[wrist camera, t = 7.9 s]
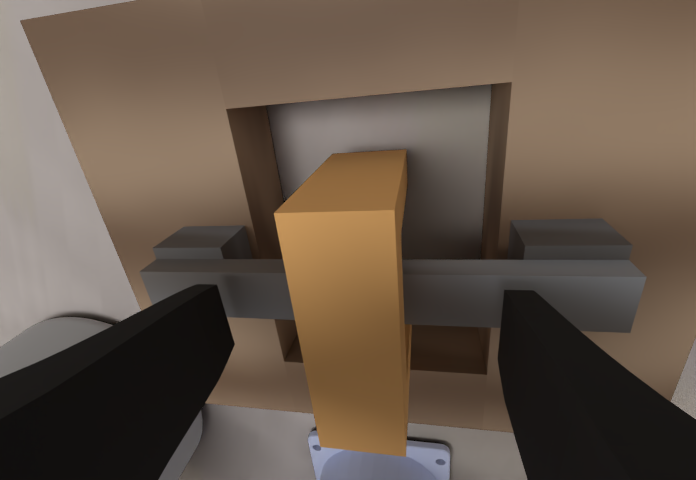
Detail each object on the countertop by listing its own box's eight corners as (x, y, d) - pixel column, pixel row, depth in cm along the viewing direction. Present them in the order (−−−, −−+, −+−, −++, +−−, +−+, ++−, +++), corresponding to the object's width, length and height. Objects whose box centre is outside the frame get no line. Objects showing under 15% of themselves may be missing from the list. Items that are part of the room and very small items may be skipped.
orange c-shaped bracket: (411, 328, 15) (406, 456, 10) (352, 326, 16) (320, 447, 11) (406, 149, 12) (394, 210, 7) (332, 153, 12) (274, 213, 8)
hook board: (615, 382, 16) (698, 521, 11) (210, 356, 20) (143, 449, 15) (748, -75, 9) (1103, -224, 4) (99, 28, 13) (-83, 10, 9)
